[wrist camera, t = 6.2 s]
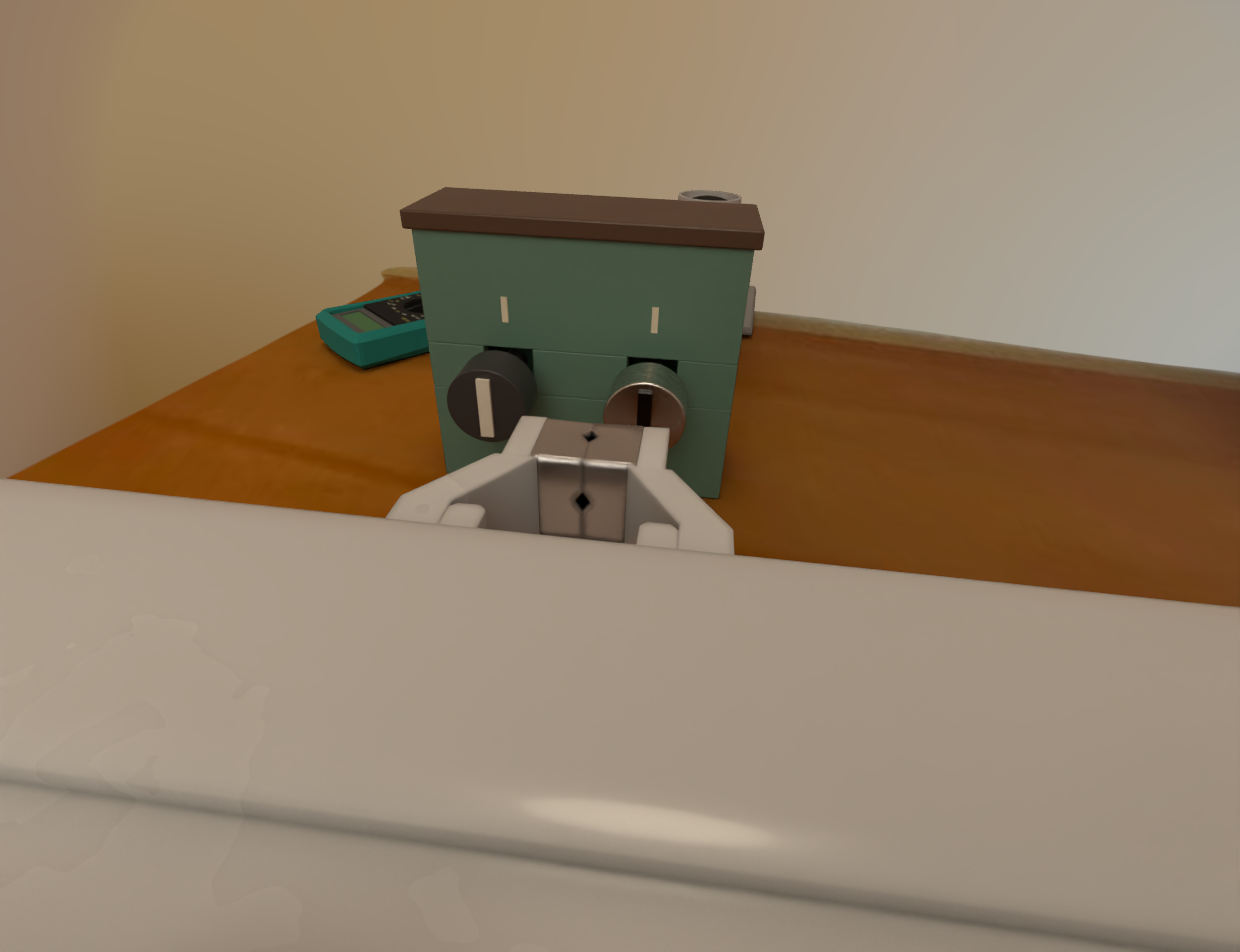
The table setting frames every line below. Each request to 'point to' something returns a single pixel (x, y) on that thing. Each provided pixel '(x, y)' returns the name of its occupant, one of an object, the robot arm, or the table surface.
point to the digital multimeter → (376, 329)
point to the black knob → (492, 394)
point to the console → (588, 303)
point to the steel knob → (648, 399)
